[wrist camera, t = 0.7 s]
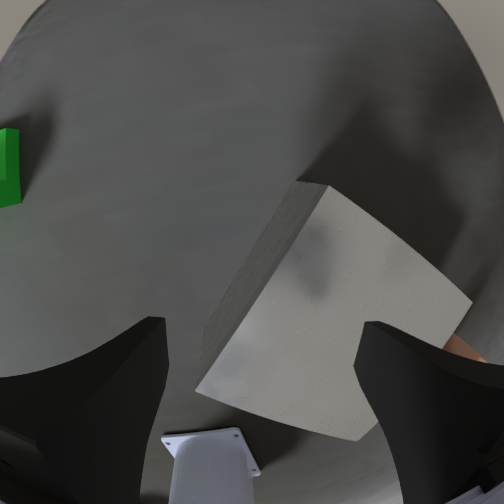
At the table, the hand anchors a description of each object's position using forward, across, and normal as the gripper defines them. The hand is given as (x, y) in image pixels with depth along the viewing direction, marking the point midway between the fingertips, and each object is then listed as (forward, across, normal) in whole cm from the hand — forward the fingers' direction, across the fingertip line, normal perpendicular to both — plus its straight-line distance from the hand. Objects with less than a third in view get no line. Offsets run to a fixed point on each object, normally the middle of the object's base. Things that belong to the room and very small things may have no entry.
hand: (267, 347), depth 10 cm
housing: (+10, -5, +2) cm, 12 cm away
